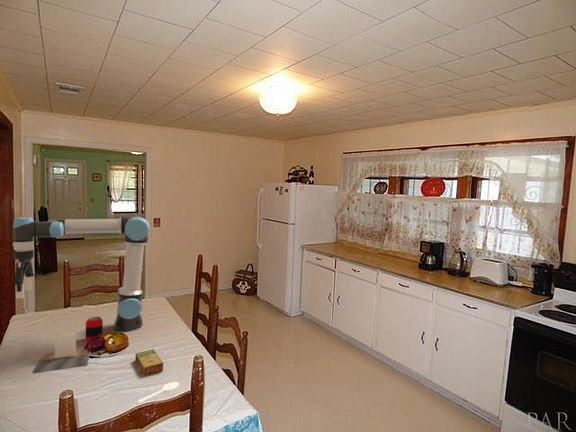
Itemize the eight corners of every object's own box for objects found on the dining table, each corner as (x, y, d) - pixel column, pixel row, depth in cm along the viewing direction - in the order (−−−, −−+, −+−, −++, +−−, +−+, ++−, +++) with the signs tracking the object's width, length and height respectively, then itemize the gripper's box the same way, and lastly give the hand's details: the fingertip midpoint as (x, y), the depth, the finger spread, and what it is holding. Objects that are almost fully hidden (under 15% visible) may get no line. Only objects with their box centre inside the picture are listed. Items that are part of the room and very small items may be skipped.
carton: (143, 377, 146) (143, 367, 146) (134, 361, 159) (134, 352, 159) (163, 371, 151) (163, 362, 151) (153, 356, 164) (153, 348, 164)
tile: (76, 353, 160) (76, 332, 159) (75, 355, 158) (75, 334, 158) (55, 356, 157) (55, 334, 156) (54, 358, 155) (55, 336, 154)
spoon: (134, 400, 130) (134, 399, 130) (174, 380, 144) (174, 379, 144) (142, 406, 126) (142, 404, 126) (182, 385, 141) (182, 384, 141)
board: (91, 350, 166) (91, 348, 166) (87, 368, 150) (87, 365, 150) (42, 356, 158) (42, 354, 158) (31, 376, 142) (31, 373, 142)
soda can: (104, 341, 176) (104, 318, 176) (88, 345, 171) (88, 322, 170) (99, 336, 182) (99, 314, 181) (83, 340, 176) (83, 318, 175)
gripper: (22, 246, 172) (22, 287, 173) (4, 255, 149) (5, 302, 150) (40, 245, 175) (40, 286, 176) (25, 254, 152) (26, 301, 153)
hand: (24, 293), depth 163 cm, fingers open, 13 cm apart
